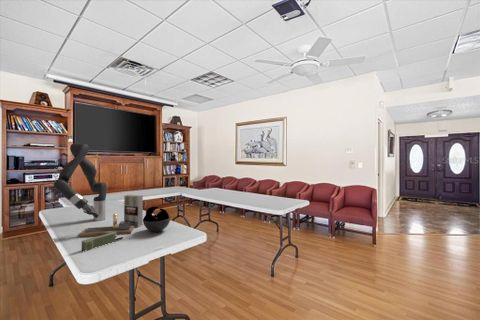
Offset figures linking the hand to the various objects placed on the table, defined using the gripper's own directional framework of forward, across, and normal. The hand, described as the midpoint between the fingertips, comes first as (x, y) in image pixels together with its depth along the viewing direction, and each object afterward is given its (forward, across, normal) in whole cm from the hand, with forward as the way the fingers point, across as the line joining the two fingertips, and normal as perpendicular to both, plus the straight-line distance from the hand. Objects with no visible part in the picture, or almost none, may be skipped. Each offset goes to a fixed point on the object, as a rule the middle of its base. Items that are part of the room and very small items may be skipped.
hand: (97, 216), depth 170 cm
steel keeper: (+20, 0, -6) cm, 21 cm away
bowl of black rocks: (+38, -6, -21) cm, 44 cm away
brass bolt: (+17, 0, -3) cm, 18 cm away
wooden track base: (+14, 0, +4) cm, 14 cm away
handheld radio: (+17, -26, +1) cm, 31 cm away
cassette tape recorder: (+24, +14, -7) cm, 29 cm away
